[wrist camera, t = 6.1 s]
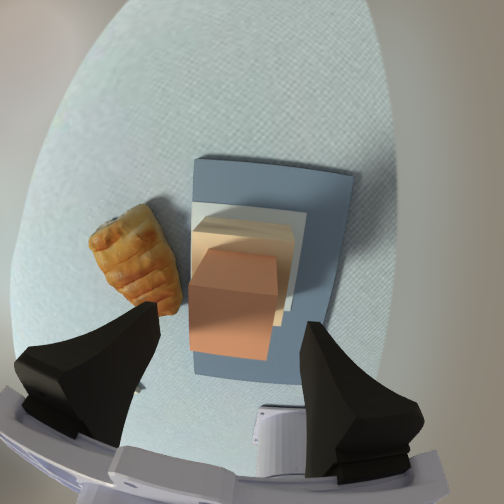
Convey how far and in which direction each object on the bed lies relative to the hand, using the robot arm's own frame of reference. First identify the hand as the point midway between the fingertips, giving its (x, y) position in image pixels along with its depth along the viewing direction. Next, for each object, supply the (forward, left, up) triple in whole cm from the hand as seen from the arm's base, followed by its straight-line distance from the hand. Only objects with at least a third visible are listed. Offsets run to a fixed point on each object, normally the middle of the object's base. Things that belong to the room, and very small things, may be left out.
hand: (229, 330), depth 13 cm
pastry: (-1, +9, -10) cm, 13 cm away
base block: (0, 0, -8) cm, 8 cm away
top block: (0, 0, -5) cm, 5 cm away
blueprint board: (-3, -1, -9) cm, 10 cm away
